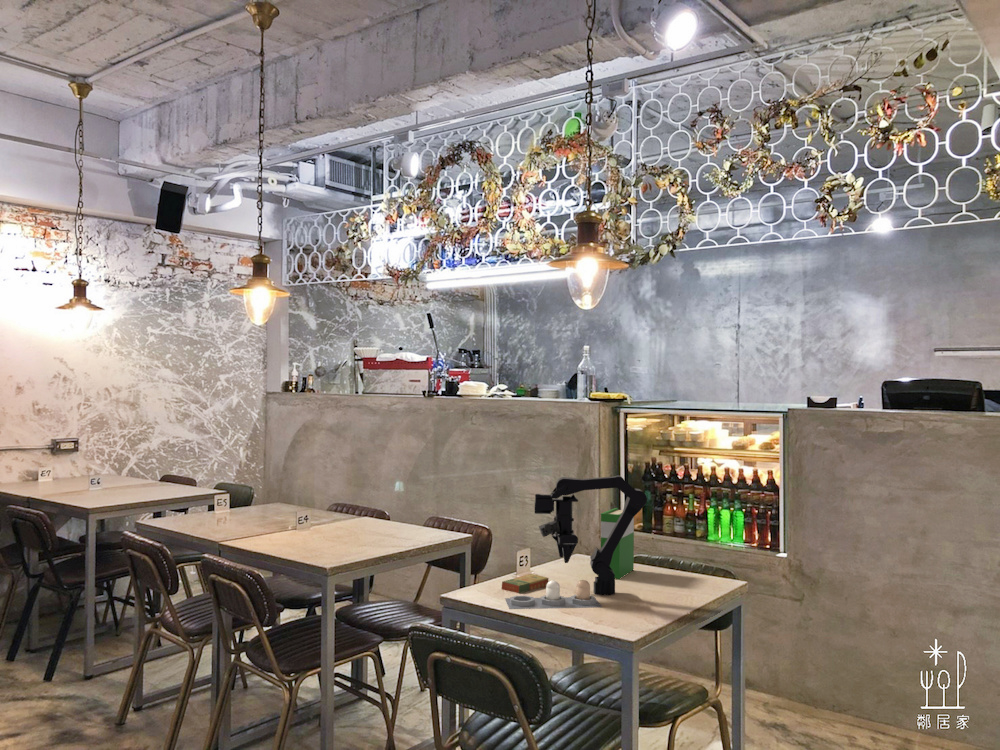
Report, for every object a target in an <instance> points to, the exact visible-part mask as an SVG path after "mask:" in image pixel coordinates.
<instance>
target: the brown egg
mask: <svg viewBox="0 0 1000 750" xmlns="http://www.w3.org/2000/svg"><path fill="white" fill-rule="evenodd" d="M590 584H591V583H590V582H588V580H587V579H586V580H585V579H581V580H579V581H578V582H577V583H576V585H575V586H576V592H575V593H576V594H575V595H576V599H580V600H589V599H590V596H591V585H590Z"/></svg>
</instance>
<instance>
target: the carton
mask: <svg viewBox="0 0 1000 750" xmlns="http://www.w3.org/2000/svg"><path fill="white" fill-rule="evenodd" d="M548 582H549V577H547V576H543V575H540V574H539V575H538V574H534V573H531V574H530V573H529V574H526V575H523V576H519V577H514V578H511V579H507V580H503V581H502V582H501V590H503V591H507V592H511V593H516V594H522V593H525V592H528V591H533V590H537V589H541V588H542V589H546V585H547V583H548Z"/></svg>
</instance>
